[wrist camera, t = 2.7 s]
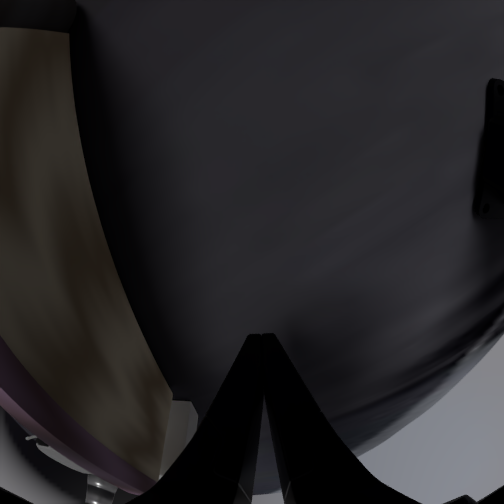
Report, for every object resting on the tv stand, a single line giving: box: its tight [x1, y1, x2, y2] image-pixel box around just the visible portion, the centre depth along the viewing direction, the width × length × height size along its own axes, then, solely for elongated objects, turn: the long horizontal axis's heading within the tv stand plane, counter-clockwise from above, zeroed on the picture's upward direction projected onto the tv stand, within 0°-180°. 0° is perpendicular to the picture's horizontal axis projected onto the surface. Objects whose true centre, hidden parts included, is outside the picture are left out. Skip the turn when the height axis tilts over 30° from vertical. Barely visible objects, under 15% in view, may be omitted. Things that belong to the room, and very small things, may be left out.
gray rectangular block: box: [159, 400, 198, 480], centre depth 16 cm, size 3×2×6 cm
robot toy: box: [26, 435, 92, 474], centre depth 27 cm, size 12×4×15 cm
